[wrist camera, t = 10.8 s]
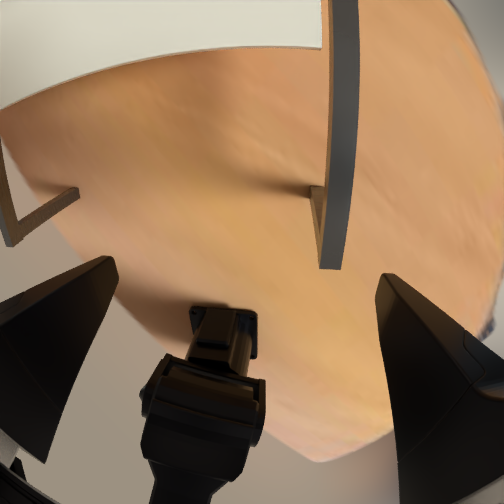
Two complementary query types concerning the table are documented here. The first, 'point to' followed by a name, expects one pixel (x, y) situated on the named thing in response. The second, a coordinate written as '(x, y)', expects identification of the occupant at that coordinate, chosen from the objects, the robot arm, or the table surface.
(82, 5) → the sliding cover
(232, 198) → the table surface
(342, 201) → the cover frame
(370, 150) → the table surface
